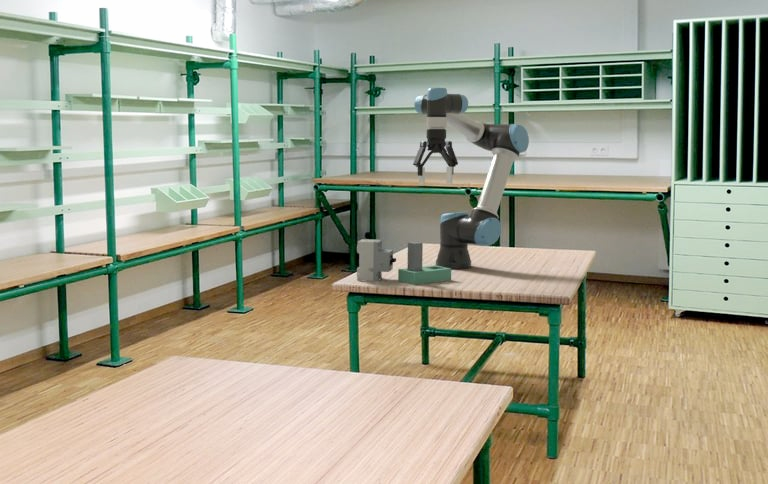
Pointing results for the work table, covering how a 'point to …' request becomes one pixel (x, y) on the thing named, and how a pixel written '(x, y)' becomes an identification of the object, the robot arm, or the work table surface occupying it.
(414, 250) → the plug
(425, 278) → the box
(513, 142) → the robot arm
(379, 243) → the circuit breaker
